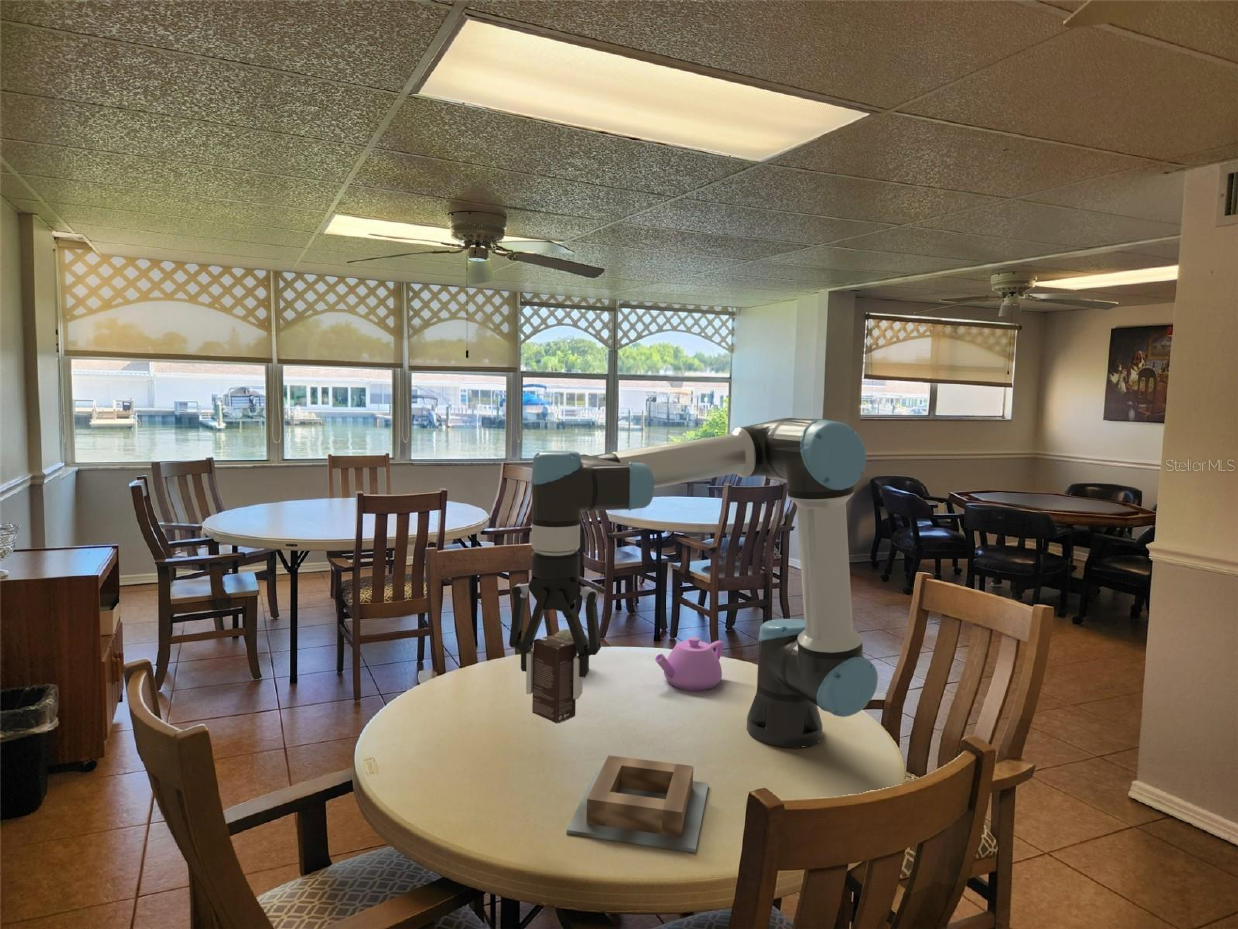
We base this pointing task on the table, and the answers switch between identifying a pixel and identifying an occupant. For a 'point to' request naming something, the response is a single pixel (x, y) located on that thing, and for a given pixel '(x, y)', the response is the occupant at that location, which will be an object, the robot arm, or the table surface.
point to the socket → (642, 804)
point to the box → (553, 678)
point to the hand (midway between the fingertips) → (554, 693)
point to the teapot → (693, 664)
